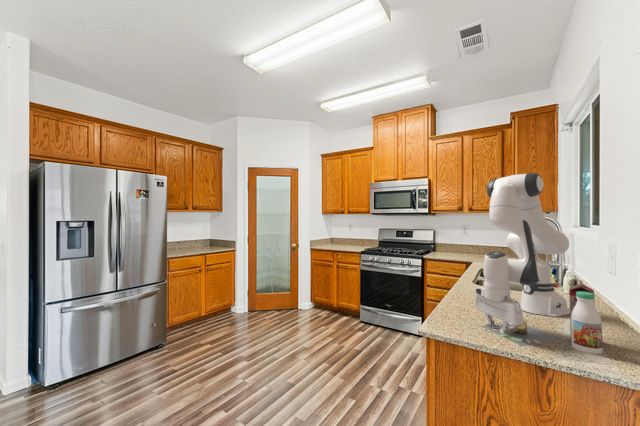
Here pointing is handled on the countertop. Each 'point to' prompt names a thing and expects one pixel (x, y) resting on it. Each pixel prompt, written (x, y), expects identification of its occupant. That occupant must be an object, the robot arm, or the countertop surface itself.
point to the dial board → (525, 335)
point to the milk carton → (573, 296)
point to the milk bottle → (586, 325)
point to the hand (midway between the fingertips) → (497, 328)
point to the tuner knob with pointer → (515, 329)
